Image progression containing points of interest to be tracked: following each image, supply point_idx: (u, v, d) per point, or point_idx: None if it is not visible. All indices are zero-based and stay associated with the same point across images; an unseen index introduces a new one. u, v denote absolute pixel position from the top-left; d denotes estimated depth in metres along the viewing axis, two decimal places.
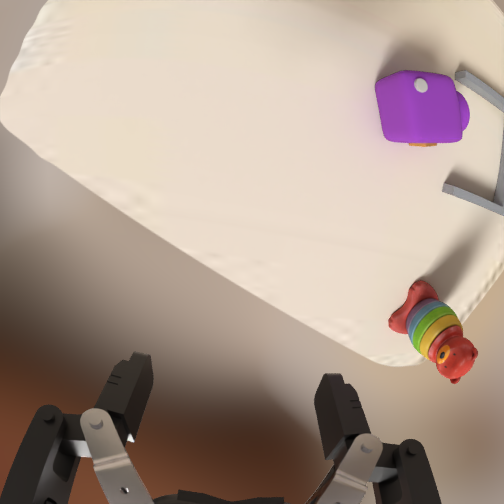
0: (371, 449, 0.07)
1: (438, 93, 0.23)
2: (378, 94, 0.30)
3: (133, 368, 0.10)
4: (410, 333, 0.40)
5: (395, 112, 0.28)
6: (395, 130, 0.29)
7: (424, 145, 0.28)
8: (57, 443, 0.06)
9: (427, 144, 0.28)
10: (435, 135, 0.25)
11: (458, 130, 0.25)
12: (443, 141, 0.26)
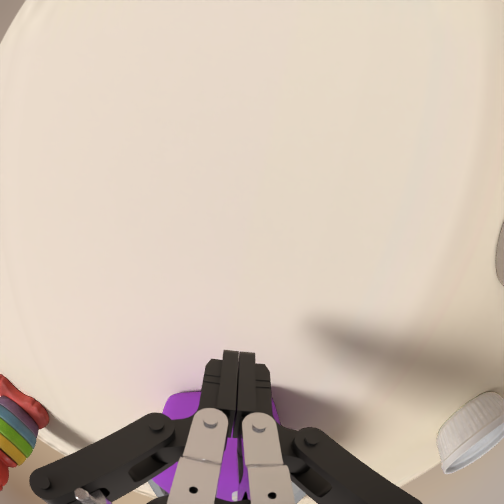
0: (261, 429, 0.08)
1: None
2: None
3: (229, 365, 0.11)
4: None
5: None
6: None
7: None
8: (150, 453, 0.07)
9: None
10: None
11: None
12: None
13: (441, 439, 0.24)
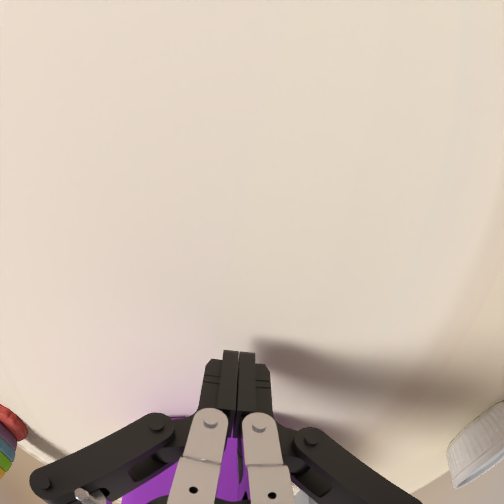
0: (261, 429, 0.08)
1: None
2: None
3: (229, 365, 0.11)
4: None
5: None
6: None
7: None
8: (150, 452, 0.07)
9: None
10: None
11: None
12: None
13: (452, 453, 0.20)
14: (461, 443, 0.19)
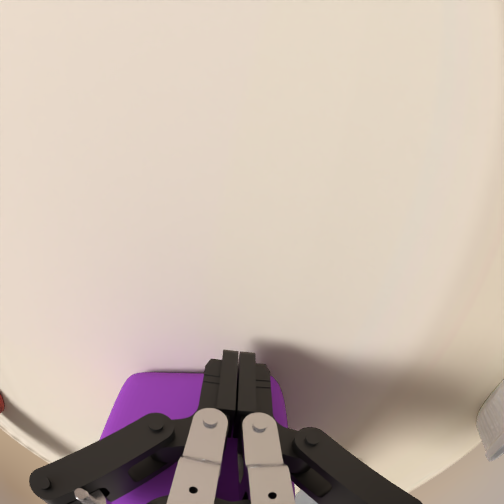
0: (261, 429, 0.08)
1: None
2: None
3: (229, 365, 0.11)
4: None
5: None
6: None
7: None
8: (150, 452, 0.07)
9: None
10: None
11: None
12: None
13: (484, 418, 0.18)
14: (494, 404, 0.17)
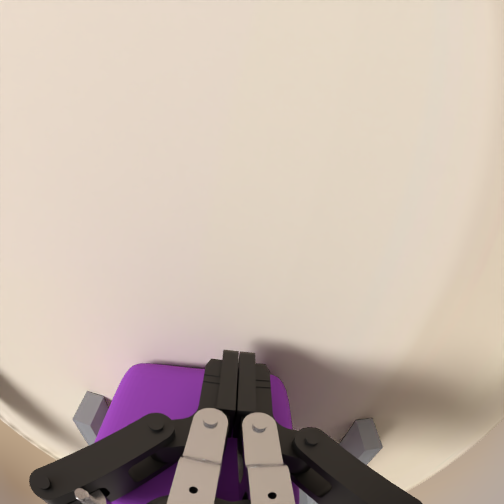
0: (261, 429, 0.08)
1: None
2: None
3: (229, 365, 0.11)
4: None
5: None
6: (124, 422, 0.10)
7: None
8: (150, 452, 0.07)
9: None
10: None
11: None
12: None
13: None
14: None
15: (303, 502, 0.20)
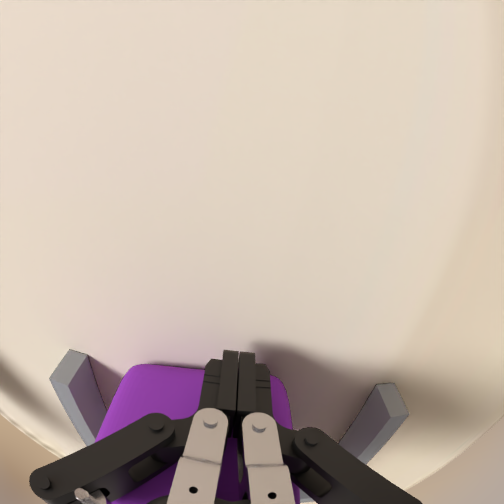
0: (261, 429, 0.08)
1: None
2: None
3: (229, 365, 0.11)
4: None
5: None
6: (124, 423, 0.10)
7: None
8: (150, 452, 0.07)
9: None
10: None
11: None
12: None
13: None
14: None
15: None
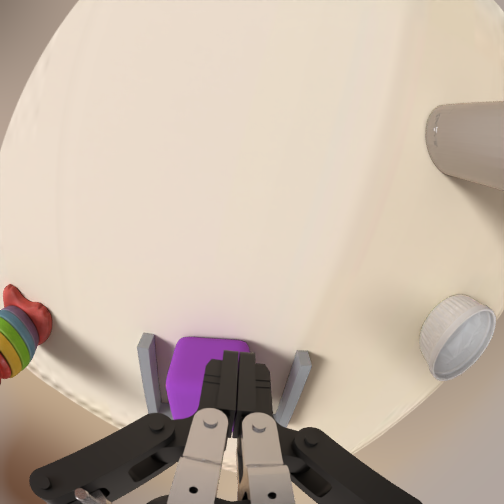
0: (261, 429, 0.08)
1: None
2: (231, 344, 0.32)
3: (229, 365, 0.11)
4: None
5: (202, 364, 0.29)
6: (182, 358, 0.29)
7: None
8: (150, 452, 0.07)
9: None
10: (174, 405, 0.27)
11: None
12: (170, 408, 0.28)
13: (422, 338, 0.34)
14: (428, 325, 0.33)
15: None
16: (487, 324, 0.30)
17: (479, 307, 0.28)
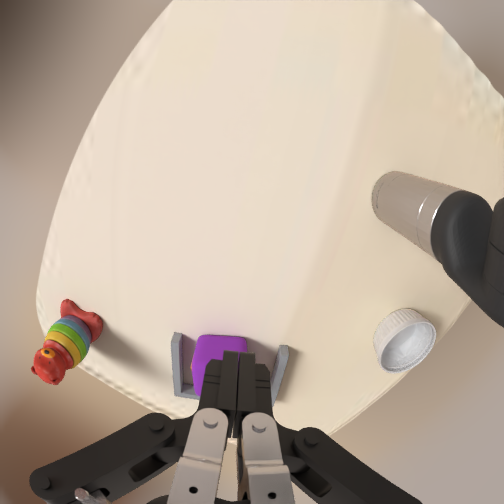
0: (261, 429, 0.08)
1: None
2: (234, 339, 0.49)
3: (229, 365, 0.11)
4: (59, 320, 0.44)
5: (215, 352, 0.45)
6: (202, 349, 0.46)
7: (191, 367, 0.46)
8: (150, 452, 0.07)
9: (192, 369, 0.46)
10: (196, 379, 0.44)
11: None
12: (193, 382, 0.45)
13: (374, 340, 0.50)
14: (378, 330, 0.49)
15: None
16: (430, 332, 0.46)
17: (416, 320, 0.43)
